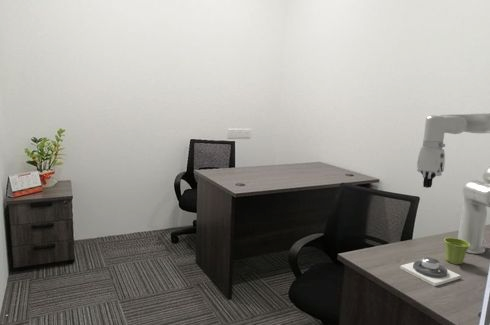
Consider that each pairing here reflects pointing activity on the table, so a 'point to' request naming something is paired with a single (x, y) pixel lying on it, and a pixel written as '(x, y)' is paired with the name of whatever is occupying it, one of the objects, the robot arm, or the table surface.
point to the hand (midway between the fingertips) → (427, 187)
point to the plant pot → (455, 250)
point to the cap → (430, 264)
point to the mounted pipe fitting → (430, 273)
